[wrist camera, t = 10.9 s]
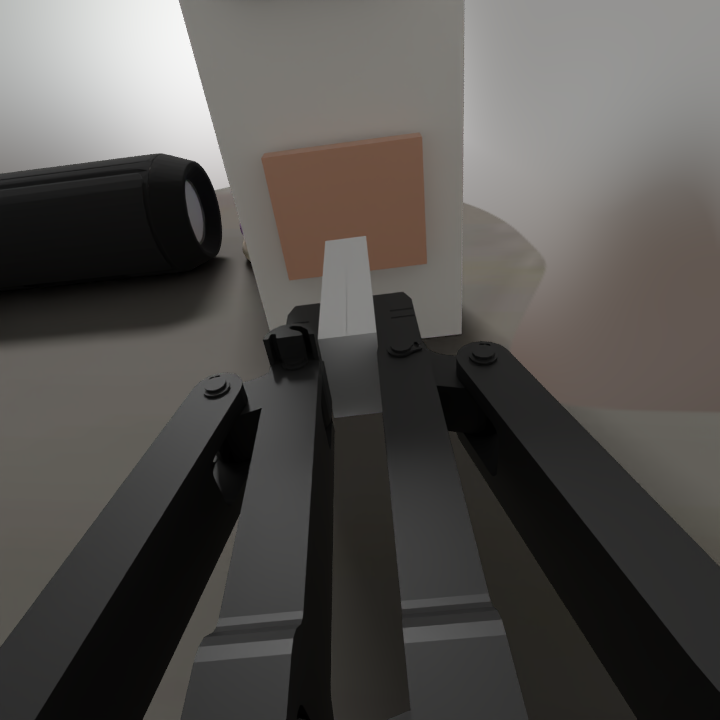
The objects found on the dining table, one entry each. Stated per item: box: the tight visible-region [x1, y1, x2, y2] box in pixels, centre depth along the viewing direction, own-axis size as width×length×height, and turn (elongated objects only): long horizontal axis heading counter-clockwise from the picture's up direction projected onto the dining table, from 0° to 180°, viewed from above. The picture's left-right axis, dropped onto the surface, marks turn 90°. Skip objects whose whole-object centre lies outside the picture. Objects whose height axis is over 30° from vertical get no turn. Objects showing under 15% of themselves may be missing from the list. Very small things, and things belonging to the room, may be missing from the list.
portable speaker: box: [0, 154, 222, 291], centre depth 43 cm, size 26×10×10 cm, turn 89°
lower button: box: [261, 133, 427, 280], centre depth 27 cm, size 8×7×6 cm
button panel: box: [179, 0, 464, 339], centre depth 24 cm, size 12×6×30 cm, turn 92°
